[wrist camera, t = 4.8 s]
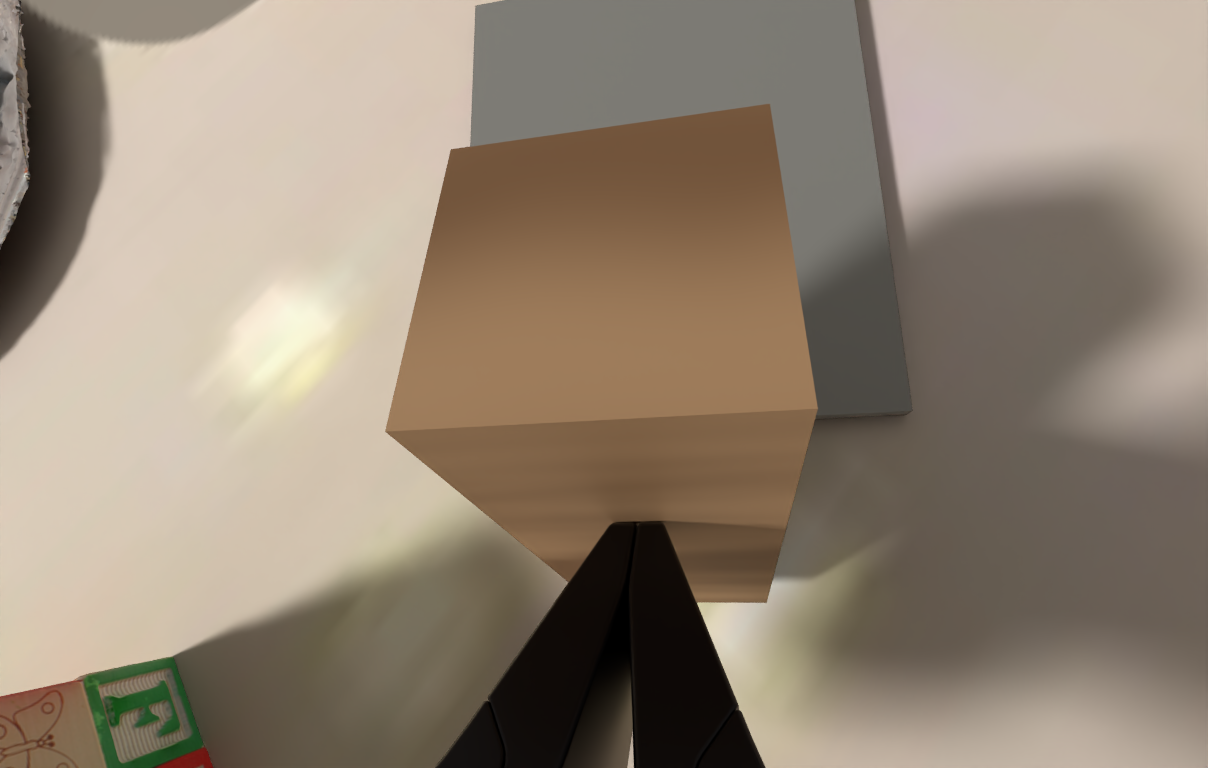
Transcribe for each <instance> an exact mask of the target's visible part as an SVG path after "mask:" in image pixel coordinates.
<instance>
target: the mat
mask: <svg viewBox="0 0 1208 768" xmlns="http://www.w3.org/2000/svg"><path fill="white" fill-rule="evenodd" d="M764 104H770V107H771V114H772V120H773V126H774V133H775V139H776V146H777V152H778V158H779V165H780V171H781V177H782V184H783V190H784V196H785V203H786V209H787V216H788V222H789V228H790V235H791V241H792V247H793V254H794V260H795V267H796V273H797V279H798V286H799V292H800V298H801V305H802V311H803V317H804V324H805V330H806V337H807V343H808V349H809V356H810V362H811V368H812V375H813V381H814V388H815V394H816V400H817V407H818V410H817V414H816V418H815V419H826V418H846V417H866V416H886V415H906V414H908V413H909V412H911V411H913V410H912V403H911V396H910V389H909V381H908V374H907V367H906V360H905V353H904V346H903V339H902V332H901V325H900V318H899V311H898V304H897V297H896V290H895V283H894V276H893V269H892V262H891V255H890V248H889V240H888V233H887V226H886V219H885V212H884V205H883V198H882V191H881V184H880V177H879V170H878V163H877V156H876V149H875V142H874V135H873V128H872V121H871V114H870V107H869V99H868V92H867V85H866V78H865V71H864V64H863V57H862V50H861V43H860V36H859V29H858V22H857V15H856V8H855V1H854V0H504V1H498V2H493V3H488V4H482V5H477V6H476V9H475V36H474V62H473V89H472V116H471V143H470V147H472V146H479V145H486V144H493V143H500V142H507V141H514V140H520V139H527V138H534V137H541V136H548V135H555V134H562V133H569V132H576V131H583V130H590V129H597V128H604V127H611V126H618V125H625V124H632V123H639V122H646V121H652V120H659V119H666V118H673V117H680V116H687V115H694V114H701V113H708V112H715V111H722V110H729V109H736V108H743V107H750V106H757V105H764Z"/></svg>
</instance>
